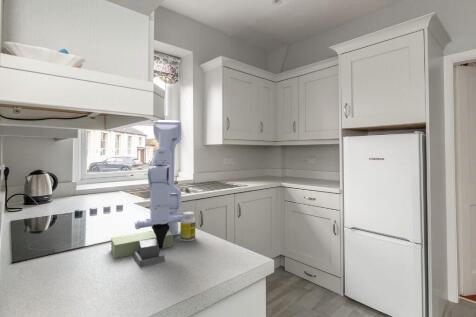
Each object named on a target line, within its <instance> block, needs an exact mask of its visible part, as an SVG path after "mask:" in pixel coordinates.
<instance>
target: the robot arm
mask: <svg viewBox="0 0 476 317" xmlns="http://www.w3.org/2000/svg"><path fill="white" fill-rule="evenodd" d="M153 135H154V136H155V140H156V143H157V144H158V146H157V147H158V148H156V149H155V150H154V153H153V157H152V162H151V167H149V168H148V170H147V182H148V191H149V192H150V193H149V194H150V195H149V196H150V197H149V198H150V200H149V202H150V203H149V204H150V211H149V213H150V218H145V219H142V220H135V221H134V228H135V230H140V229H144V228H150V227H151V229H152V231H154V233H155V235H156V238H157V241H158V244H159V250H162V249H164V248H163V242H164V239H165V236H166V234H167V232H168V231H169V232H170V233H172V234H173V236H178V235H179V236H180V232H181V230H179V229H178V228H179V223H181V222H184V216H183V214H179V210H181V209H182V202H183V201H182V191H181V189H180V188H178V187H177V186H176V185H175V161H176V159H175V152H176V151H175V150H176V146H177V145H178V144H180V143H181V140H182V122H181V121H180V120H158V121H155V120H154V121H153Z"/></svg>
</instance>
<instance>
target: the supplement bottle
mask: <svg viewBox="0 0 476 317" xmlns="http://www.w3.org/2000/svg"><path fill="white" fill-rule="evenodd" d="M182 215H183V216H184V222H180V234H179V236H180V240H181V241H182V242H192V241H194V240H195V239H196V218H194V216H195V214H194V212H193V211H185V212H184V211H183V212H182Z"/></svg>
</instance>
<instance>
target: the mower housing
mask: <svg viewBox="0 0 476 317" xmlns="http://www.w3.org/2000/svg"><path fill="white" fill-rule="evenodd" d="M173 238H174V237H173V234H172V233H170V232H169V231H168V232H167V234H166V236H165V239H164V242H163V249H164V248H171V247H173V246H174V245H173V244H174V242H173V241H174V239H173ZM149 239H156V240H157V238H156V235H155V233H154V231H153V230H151V231H150V230H149V231H145V232H144V231H143V232H139V233H132V234H127V235H121V236H114V237H111V238H110V240H111V241H110V243H111V247H110V248H111V252H112V254H113V257H114V259H117V258H122V257H127V256H132V255H133V257H134V259H135V261H136V262H137V264H138V266H139V267H140V268H142V267H146V266H151V265H155V264H159V263H163V262H166V258H165V255H159V256H158V257H154V258H150V259H145V260H142V258H141V257H140V255H139V241H142V240H149ZM157 242H158V241H157Z"/></svg>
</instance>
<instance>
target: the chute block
mask: <svg viewBox="0 0 476 317" xmlns="http://www.w3.org/2000/svg"><path fill="white" fill-rule="evenodd" d="M139 255H140V257H141V258H142V260H145V259H150V258H154V257H158V256H160V249H159V244H158V242H157V240H156V239H149V240H142V241H139Z"/></svg>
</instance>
